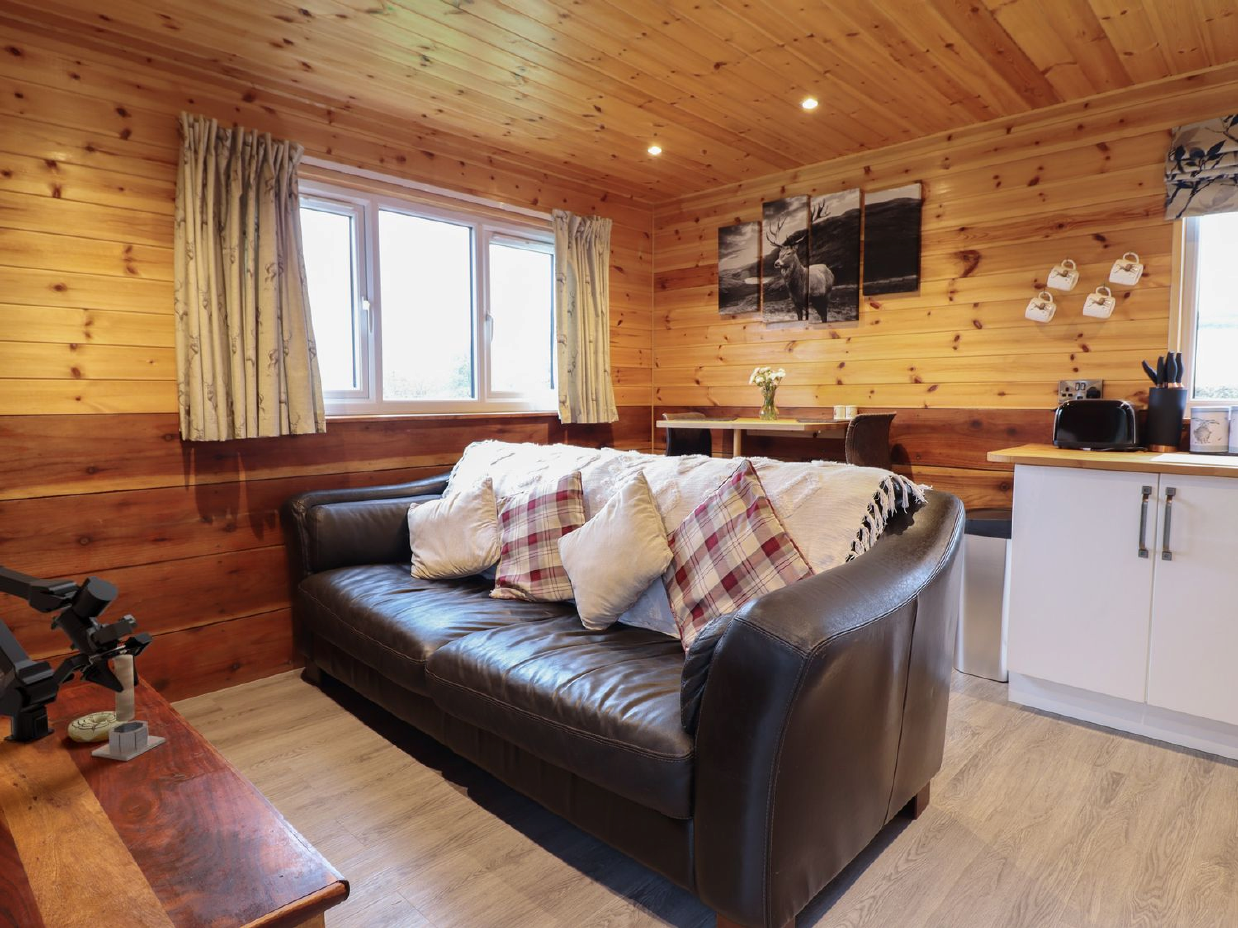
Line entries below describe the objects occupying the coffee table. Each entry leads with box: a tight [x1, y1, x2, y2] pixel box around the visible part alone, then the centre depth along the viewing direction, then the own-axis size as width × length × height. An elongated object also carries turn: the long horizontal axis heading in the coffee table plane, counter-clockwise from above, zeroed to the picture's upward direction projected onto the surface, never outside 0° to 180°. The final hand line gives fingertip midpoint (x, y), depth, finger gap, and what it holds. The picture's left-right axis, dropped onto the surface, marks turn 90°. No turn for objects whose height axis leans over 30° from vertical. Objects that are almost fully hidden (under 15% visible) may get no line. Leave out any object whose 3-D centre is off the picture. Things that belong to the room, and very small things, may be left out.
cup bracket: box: [91, 719, 166, 762], centre depth 152 cm, size 9×9×4 cm
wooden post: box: [113, 655, 136, 722], centre depth 151 cm, size 3×3×13 cm
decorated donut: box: [67, 710, 129, 743], centre depth 159 cm, size 10×11×4 cm
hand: (129, 688), depth 150 cm, fingers closed on wooden post, 3 cm apart
